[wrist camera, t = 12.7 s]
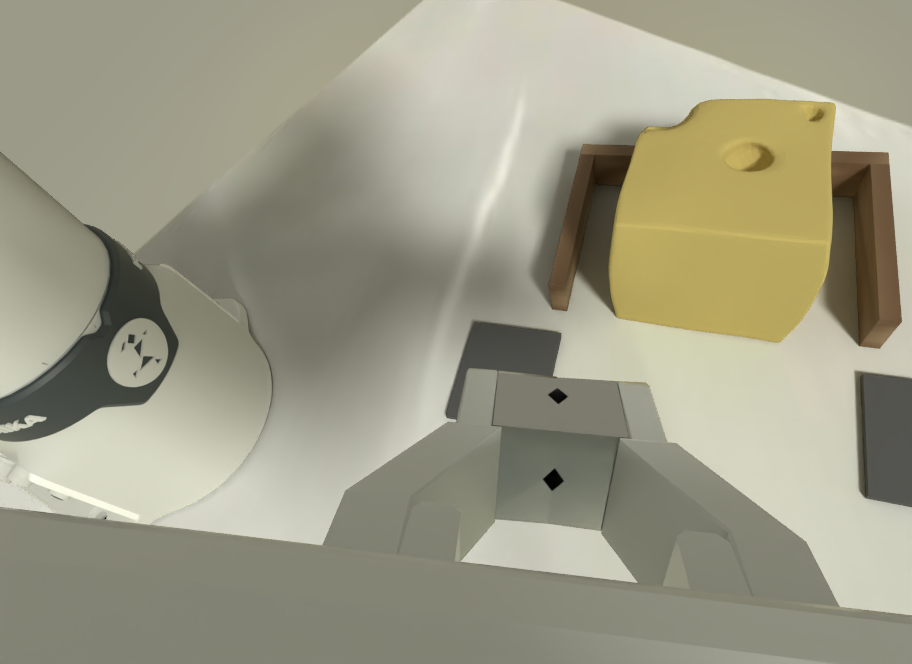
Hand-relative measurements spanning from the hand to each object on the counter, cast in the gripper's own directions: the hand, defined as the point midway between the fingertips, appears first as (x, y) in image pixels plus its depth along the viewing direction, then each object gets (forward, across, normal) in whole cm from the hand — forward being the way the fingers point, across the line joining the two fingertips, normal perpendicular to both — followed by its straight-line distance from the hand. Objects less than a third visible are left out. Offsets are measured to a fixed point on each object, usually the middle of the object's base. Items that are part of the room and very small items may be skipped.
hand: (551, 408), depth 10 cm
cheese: (+29, -12, +9) cm, 33 cm away
